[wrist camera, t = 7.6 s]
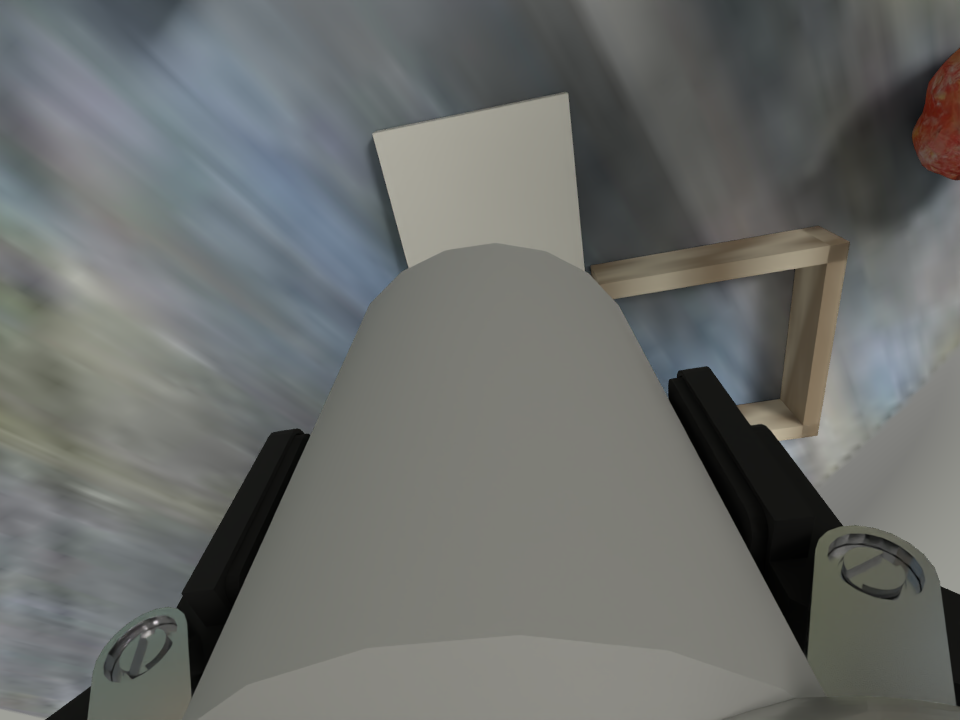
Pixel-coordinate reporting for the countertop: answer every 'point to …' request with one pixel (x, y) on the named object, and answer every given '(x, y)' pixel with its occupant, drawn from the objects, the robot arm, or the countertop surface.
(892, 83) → the countertop surface
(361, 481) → the can
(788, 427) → the open wooden frame
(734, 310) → the countertop surface
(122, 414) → the countertop surface
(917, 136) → the red tomato
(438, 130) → the tile
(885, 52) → the countertop surface
